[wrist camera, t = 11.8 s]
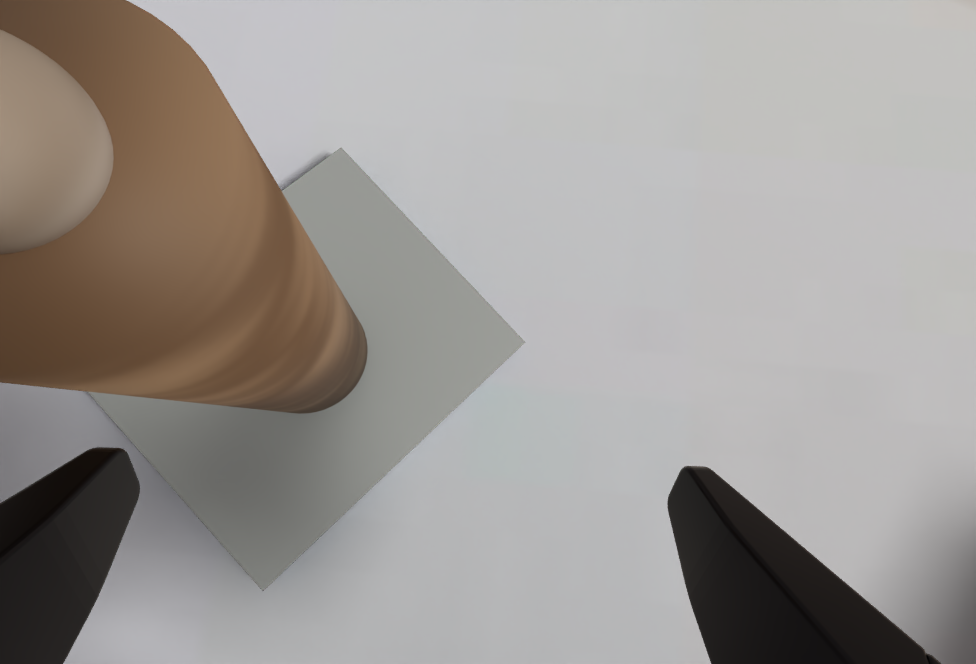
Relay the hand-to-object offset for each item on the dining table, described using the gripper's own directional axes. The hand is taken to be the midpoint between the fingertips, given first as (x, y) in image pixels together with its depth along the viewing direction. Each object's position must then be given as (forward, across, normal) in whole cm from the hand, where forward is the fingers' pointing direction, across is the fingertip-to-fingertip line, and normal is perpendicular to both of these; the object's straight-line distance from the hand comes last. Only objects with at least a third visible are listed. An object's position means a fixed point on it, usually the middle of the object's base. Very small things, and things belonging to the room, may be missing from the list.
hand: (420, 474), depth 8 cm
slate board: (+12, +5, +7) cm, 15 cm away
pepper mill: (+11, +5, +6) cm, 14 cm away
